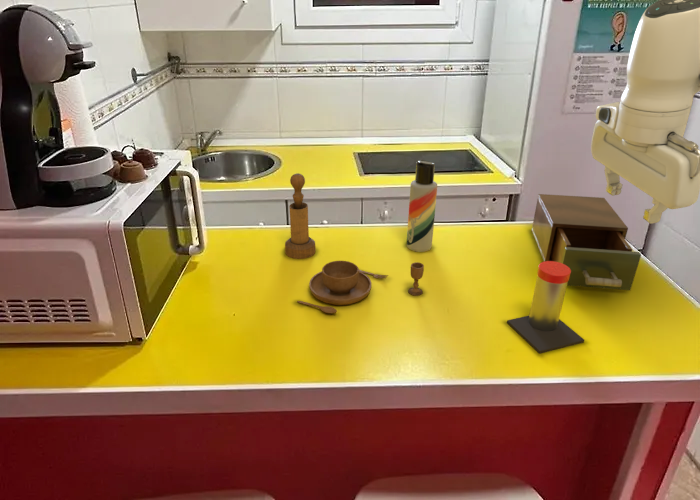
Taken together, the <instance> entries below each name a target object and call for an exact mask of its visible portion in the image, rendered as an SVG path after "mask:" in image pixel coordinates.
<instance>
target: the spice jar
mask: <svg viewBox="0 0 700 500" xmlns="http://www.w3.org/2000/svg"><path fill="white" fill-rule="evenodd" d="M570 273H571V270H570V268H569V267H568V266H566V265H565V264H562V263H559V262H555V261H545V262H543V261H542V262H540V263H539V264H538V267H537V273H536V274H537V275H536V280H535V286H534V290H533V295H532V301H531V305H530V310H529V314H528V316H529V319H528V321H529V324H530V325H531V326H532V327H534V328H536V329H538V330H542V331H553V330H555V329H556V328H557V325H558V321H559V319H560V318H561V317H560V316H561V312H562V308H563V304H564V300H565V295H566V291H567V287H568V286H567V283H568V281H569V278H570Z"/></svg>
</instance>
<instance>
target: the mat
mask: <svg viewBox="0 0 700 500" xmlns="http://www.w3.org/2000/svg"><path fill="white" fill-rule="evenodd" d="M528 319H529V315H525V316H521V317H516V318H512V319H507V320H506V324H507V325H508V326H509V327H510V328H511V329H512V330H513V331H514V332H515V333H516V334H517V335H519V337H521V338H522V339H523V340H524V341H525V342H526V343H527V344H528V345H529V346H530V347H531V348H532V349H533V350H534V351H535V352H537V353H538V354H539V355H540V354H545V353H548V352H553V351H556V350H559V349H564V348H568V347H573V346H577V345H580V344H584V343H585V339H584V337H582V336H580V335H579V334H578V332H575V330H573V329H572V328H571V327H569V326H568V325H567V324H566V323H564V322H563V321H562V320H561V319H560V318H559V321H558V325H557V328H556V329H555V330H553V331H542V330H538V329H536V328H534V327H532V326H531V325H530V324H529V321H528Z"/></svg>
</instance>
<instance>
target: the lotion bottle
mask: <svg viewBox="0 0 700 500" xmlns="http://www.w3.org/2000/svg"><path fill="white" fill-rule="evenodd" d="M415 165H416V166H415V177H414V180H412V181H411V182H410V186H409V200H408V201H409V203H408V215H407V231H406V247H407V249H408V250H410V251H413V252H417V253H424V252H425V253H426V252H428V251H430V250H431V249H432V246H433V240H434V239H433V238H434V228H435V215H436V207H437V206H436V205H437V195H438V183H437V182H436V181H435V180H434V179H435V169H436V168H435V166H436V163H435V162H432V161H428V160H423V159H419V160H417V161H416V164H415Z"/></svg>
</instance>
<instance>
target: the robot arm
mask: <svg viewBox="0 0 700 500" xmlns="http://www.w3.org/2000/svg"><path fill="white" fill-rule="evenodd" d="M626 78H627V79H626V85H625V87H624V90H623V92H622V94H621V96H620V99H619V100H620V101H616V102H611V103H606V104H601V105H598V106H597V107H596V111H595V118H596V120H597V121H596V122H595V124H594V126H593V132H592V136H591V143H590V152H591V156H592V158H593V159H594V160H595V161H597V162H598V163H600V164H601V165H603V166H604V175H605V180H606V187H605V192H606V193H608V194H609V195H610V196H618V195H620V194H622V189H623V184H622V183H621V181H620V177H621V178H622V179H624V180H626V181H627V182H629V183H630V184H631V185H632V186H634V187H636V188H637V189H639V190H641V191H642V192H643V193H645V194H646V195H648V196H649V197H651V198H652V201H651V203H652V204H653V206H652V207H651V208H645V209H644V212H643V214H644V215H643V216H642V218H643V220H645V221H646V223H648V224H650V225H652V224H657V223H659V222H660V221H661V219H662V215H663V213H664V212H665V211H666V210H668V209H669V210H679V209H682V208H687V207H691V206H692V205H694V204H695V203H697V202H698V199H699V195H700V148H699V144H697V143H696V142H694V141H693V140H688V139H686V137H684V135H685V132H686V128H687V125H688V120H689V117H690V114H691V110H692V106H693V103H694V97H695V95H696V94H697V93H699V92H700V0H657V1H655V2H654V3H652V4H650V5H649V6H647V8H646V9H645V10H644V12H643V13H642V15H641V17H640V19H639V21H638V24H637V26H636V28H635V32H634V35H633V38H632V42H631V45H630V51H629V55H628V60H627V65H626Z"/></svg>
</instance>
